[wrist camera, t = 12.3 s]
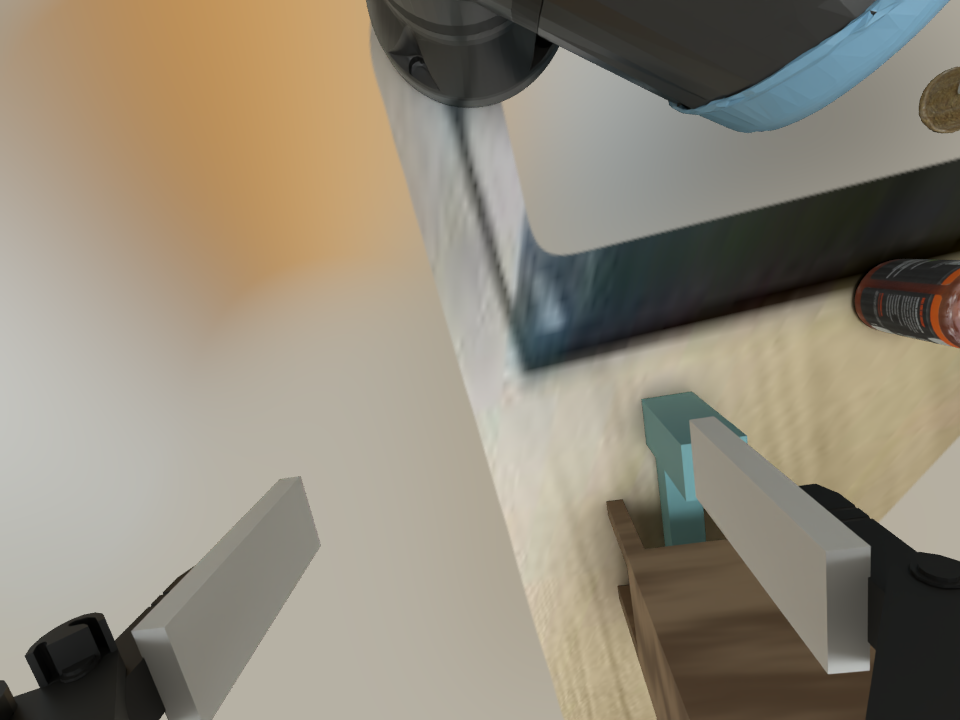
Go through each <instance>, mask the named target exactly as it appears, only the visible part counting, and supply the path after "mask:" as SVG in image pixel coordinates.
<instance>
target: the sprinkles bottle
mask: <svg viewBox="0 0 960 720" xmlns="http://www.w3.org/2000/svg"><path fill="white" fill-rule="evenodd" d="M919 116H920V118H921V121H922V122H923V123H924V124H925V125H926V126H927V127H928V128H929V129H930V130H932V131H934V132H937V133H953V132H955V131H959V130H960V67H955V68H951V69H949V70H946V71H944V72H942V73H941V74H939V75H938V76H936V77H935V78H934V79H933V80H932V81H931V82H930V83H929V84H928V85H927V87H926V88H925V90H924V91H923V93H922V96H921V98H920V103H919Z"/></svg>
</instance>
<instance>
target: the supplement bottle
mask: <svg viewBox="0 0 960 720" xmlns="http://www.w3.org/2000/svg"><path fill="white" fill-rule="evenodd" d="M855 308H856V312H857V314H858V316H859V318H860V319H861V320H862V321H863V322H864V323H865V324H866V325H868V326H869V327H871V328H873V329H876V330H880V331H883V332H887V333H892V334H897V335H901V336H906V337H910V338H915V339H919V340H924V341H929V342H933V343H937V344H942V345H947V346H952V347H956V348H960V260H932V259H929V260H927V259H897V260H891V261H887V262H884V263H882V264H880V265H878V266H876V267H874V268H873V269H872V270H870V271H869V272H868V273H867V274H866V275H865V276H864V278H863V279H862V281H861V282H860V284H859V286H858V288H857V290H856V294H855Z"/></svg>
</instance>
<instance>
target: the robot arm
mask: <svg viewBox="0 0 960 720" xmlns="http://www.w3.org/2000/svg"><path fill="white" fill-rule="evenodd" d="M948 1H950V0H366V2H367V7H368V12H369V16H370V19H371V23H372V26H373V28H374V31H375V34H376V36H377V38H378V40H379V42H380V44H381V46H382V48H383V50H384V51H385V53H386V54H387V56H388V58H389V59H390V61H391V62H392V64H393V65H394V67H395V68H396V69H397V71H398V72H399V73H400V74H401V76H402V77H403V78H404V79H405V80H406V81H407V82H408V83H409V84H410V85H412V86H413V87H414V88H415V89H417V90H418V91H419V92H421V93H422V94H424V95H426V96H427V97H429V98H431V99H433V100H436V101H438V102H441V103H444V104H447V105H451V106H457V107H466V108H472V107H483V106H489V105H493V104H496V103H499V102H502V101H504V100H506V99H508V98H511V97H512V96H514V95H516V94H518V93H519V92H521V91H522V90H524V89H525V88H526V87H528V86H529V85H530V84H531V83H532V82H534V80H536V79H537V77H538V76H539V75H540V74H541V73H542V72H543V71H544V70H545V68H546V67H547V66H548V64H549V63H550V61H551V60H552V58H553V56H554V55H555V53H556V51H557V50H558V48H559V46H560V47H562V48H564V49H566V50H568V51H570V52H572V53H574V54H576V55H578V56H580V57H582V58H584V59H586V60H588V61H590V62H592V63H595V64H596V65H598V66H600V67H602V68H604V69H606V70H608V71H610V72H613V73H614V74H616V75H618V76H620V77H622V78H624V79H626V80H628V81H630V82H632V83H634V84H636V85H638V86H640V87H642V88H644V89H646V90H648V91H650V92H652V93H654V94H656V95H658V96H660V97H662V98H664V99H666V100H668V101H669V105H670V106H671V107H672V108H674V109H675V110H677V111H679V112H681V113H685V114H695V115H700V116H702V117H704V118H707V119H709V120H711V121H713V122H716V123H718V124H720V125H723V126H725V127H727V128H730V129H732V130H735V131H738V132H745V133H751V132H755V131H761V132H762V131H771V130H776V129H779V128H782V127H785V126H788V125H790V124H792V123H795V122H797V121H799V120H801V119H803V118H805V117H807V116H809V115H811V114H813V113H815V112H817V111H818V110H820V109H822V108H823V107H825V106H827V105H828V104H830V103H831V102H833V101H834V100H836V99H837V98H839V97H840V96H842V95H843V94H845V93H846V92H847V91H849V90H850V89H852V88H853V87H854V86H856V85H857V84H858V83H859V82H861V81H862V80H863V79H865V78H866V77H867V76H869V75H870V74H871V73H873V72H874V71H875V70H876V69H878V68H879V67H880V66H881V65H882V64H884V63H885V62H886V61H887V60H888V59H889V58H891V57H892V56H893V55H894V54H895V53H896V52H898V51H899V50H900V49H901V48H902V47H903V46H904V45H906V43H908V42H909V41H910V40H911V39H912V38H913V37H914V36H915V35H916V34H917V33H918V32H919V31H920V30H921V29H923V28H924V27H925V26H926V24H928V23H929V22H930V20H931V19H932V18H933V17H934V16H935V15H936V14H937V13H938V12H939V11H940V10H941V9H942V8H943V7H944V6H945V5H946V4H947V3H948ZM689 423H690V435H691V447H692V458H693V470H694V481H695V493H696V498H697V499H698V501H699V502H700V503H701V505H702V506H703V507H704V509H705V510H706V511H707V513H708V514H709V515H710V517H711V518H712V519H713V521H714V522H715V523H716V525H717V526H718V527H719V529H720V530H721V531H722V533H723V534H724V535H725V537H726V538H727V539H728V541H729V542H730V543H731V545H732V546H733V548H734V549H735V550H736V552H737V553H738V554H739V556H740V557H741V558H742V560H743V561H744V562H745V564H746V565H747V566H748V568H749V569H750V570H751V572H752V573H753V574H754V576H755V577H756V578H757V580H758V581H759V582H760V584H761V585H762V586H763V588H764V589H765V590H766V592H767V593H768V594H769V596H770V597H771V598H772V600H773V601H774V603H775V604H776V605H777V607H778V608H779V609H780V611H781V612H782V613H783V615H784V616H785V617H786V619H787V620H788V621H789V623H790V624H791V625H792V627H793V628H794V629H795V631H796V632H797V633H798V635H799V636H800V637H801V639H802V640H803V641H804V643H805V644H806V645H807V647H808V648H809V649H810V651H811V652H812V653H813V655H814V656H815V657H816V659H817V660H818V662H819V663H820V664H821V666H822V667H823V668H824V670H825V671H826V672H827V674H836V673H847V672H859V671H870V645H871V646H872V647H873V648H874V649H875V650H876V653H875V659H874V666H873V672H872V679H871V685H870V692H869V698H868V705H867V711H866V718H865V720H960V561H957V560H954V559H951V558H947V557H944V556H941V555H936V554H930V553H923V552H916V551H915V550H914V549H912V548H911V547H910V546H908V545H907V544H906V543H904V542H903V541H902V540H900V539H899V538H898V537H896V536H895V535H894V534H892V533H891V532H890V531H888V530H887V529H886V528H884V527H883V526H882V525H880V524H879V523H878V522H876V521H875V520H874V519H870V518H869V516H868V515H867V514H866V513H864V512H863V511H862V510H860V509H859V508H856V507H855V505H854V504H852V503H851V502H850V501H848V500H847V499H846V498H844V497H843V496H842V495H840V494H839V493H837V492H834V491H832V490H830V489H827V488H825V487H822V486H820V485H817V484H810V485H803V486H797V485H796V484H795V483H794V482H793V481H791V480H790V479H789V478H788V477H787V476H785V475H784V474H783V473H782V472H781V471H779V470H778V469H777V468H776V467H774V466H773V465H772V464H771V463H770V462H768V461H767V460H766V459H765V458H764V457H762V456H761V455H760V454H759V453H758V452H756V451H755V450H754V449H753V448H752V447H750V446H749V445H748V444H747V443H746V442H744V441H743V440H742V439H741V438H740V437H738V436H737V435H736V434H735V433H734V432H732V431H731V430H730V429H729V428H728V427H726V426H725V425H724V424H723V423H721V422H720V421H719V420H718V419H717V418H715V417H714V416H712V417H705V418H698V419H691V420H689ZM320 546H321V544H320V540H319V538H318V534H317V530H316V527H315V524H314V520H313V517H312V514H311V510H310V506H309V503H308V500H307V496H306V493H305V490H304V486H303V483H302V479H301V476H298V477H292V478H284V479H280V480H279V481H278V482H277V483H276V484H275V485H274V486H273V487H272V488H271V489H270V490H269V491H268V492H267V493H266V494H265V495H264V496H263V497H262V498H261V499H260V500H259V501H258V502H257V503H256V504H255V505H254V506H253V507H252V508H251V509H250V510H249V511H248V512H247V513H246V514H245V515H244V516H243V517H242V518H241V519H240V520H239V521H238V522H237V523H236V525H235V526H234V527H233V528H232V529H231V530H230V531H229V532H228V533H227V534H226V535H225V536H224V537H223V538H222V539H221V540H220V541H219V542H218V543H217V544H216V545H215V546H214V547H213V548H212V549H211V550H210V551H209V552H208V553H207V554H206V555H205V556H204V557H203V558H202V559H201V560H200V561H199V562H198V563H197V564H196V565H195V566H194V567H192V568H191V569H190V570H188V571H187V572H185V573H184V574H182V575H181V576H179V577H178V578H177V579H176V580H175V581H174V582H173V583H172V584H171V585H170V586H169V587H168V588H167V589H166V590H165V591H164V592H163V595H160V596H159V597H158V598H157V599H156V600H155V601H154V602H153V603H152V604H151V607H148V608H147V609H146V610H145V611H144V612H143V613H142V614H141V615H140V616H139V617H138V618H137V619H136V620H135V621H134V622H133V623H132V624H131V625H130V626H129V627H128V628H127V629H126V630H125V631H124V632H123V633H122V634H121V635H120V636H119V637H118V638H117V639H116V640H115V641H114V638H113V636H112V634H111V631H110V629H109V627H108V624H107V622H106V620H105V617H104V615H103V614H102V613H90V614H86V615H82V616H79V617H77V618H74V619H72V620H70V621H67V622H65V623H64V624H62V625H60V626H58V627H56V628H54V629H53V630H51V631H50V632H48V633H47V634H46V635H44V636H43V637H41V638H40V639H39V640H38V641H37V642H36V643H35V644H34V645H32V646H31V647H30V649H29V650H28V652H27V653H26V655H25V658H26V660H27V662H28V664H29V665H30V668H31V670H32V672H33V674H34V676H35V678H36V680H37V682H38V684H39V686H40V688H39V689H36V690H33V691H30V692H27V693H24V694H21V695H18V696H15V697H13V695H12V694H11V691H10V690H9V687H8V685H7V684H6V683H5V681H3V680H0V720H159V719H160V718H161V716H162V715H163V714H164V712H165V714H166V716H167V718H168V720H212V719H213V717H214V716H215V714H216V712H217V711H218V709H219V708H220V706H221V704H222V703H223V701H224V700H225V698H226V696H227V695H228V693H229V691H230V690H231V688H232V686H233V685H234V683H235V682H236V680H237V678H238V677H239V676H240V674H241V672H242V671H243V669H244V667H245V666H246V664H247V663H248V661H249V660H250V658H251V656H252V655H253V653H254V652H255V650H256V648H257V647H258V645H259V644H260V642H261V640H262V639H263V637H264V635H265V634H266V632H267V631H268V629H269V628H270V626H271V624H272V623H273V621H274V620H275V618H276V616H277V615H278V613H279V611H280V610H281V608H282V607H283V605H284V603H285V602H286V600H287V599H288V597H289V596H290V594H291V592H292V591H293V589H294V588H295V586H296V584H297V583H298V581H299V580H300V578H301V576H302V575H303V573H304V572H305V570H306V568H307V567H308V565H309V564H310V562H311V560H312V559H313V557H314V556H315V554H316V552H317V551H318V549H319V547H320Z"/></svg>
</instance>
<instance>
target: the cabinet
mask: <svg viewBox="0 0 960 720" xmlns="http://www.w3.org/2000/svg"><path fill="white" fill-rule="evenodd" d="M606 503H607V510H608V516H609V519H610V522H611V524H612V527H613V530H614V532H615V535H616V538H617V541H618V543H619V546H620V549H621V551H622V554H623V557H624V559H625V562H626V565H627V568H628V576H629V584H630V585H625V586H618V592H619V599H620V602H621V605H622V609H623V612H624V615H625V618H626V621H627V625H628V628H629V631H630V634H631V637H632V640H633V644H634V647H635V650H636V653H637V656H638V660H639V663H640V666H641V669H642V672H643V675H644V679H645V682H646V685H647V688H648V691H649V695H650V698H651V701H652V704H653V707H654V710H655V714H656V717H657V720H865V718H866V711H867V705H868V698H869V692H870V685H871V679H872V672H873V666H874V659H875V653H876V650H875V649H874V648H873V647H872V646H871V645H870V671H859V672H847V673H836V674H827V672H826V671H825V670H824V668H823V667H822V666H821V664H820V663H819V662H818V660H817V659H816V657H815V656H814V655H813V653H812V652H811V651H810V649H809V648H808V647H807V645H806V644H805V643H804V641H803V640H802V639H801V637H800V636H799V635H798V633H797V632H796V631H795V629H794V628H793V627H792V625H791V624H790V623H789V621H788V620H787V619H786V617H785V616H784V615H783V613H782V612H781V611H780V609H779V608H778V607H777V605H776V604H775V603H774V601H773V600H772V598H771V597H770V596H769V594H768V593H767V592H766V590H765V589H764V588H763V586H762V585H761V584H760V582H759V581H758V580H757V578H756V577H755V576H754V574H753V573H752V572H751V570H750V569H749V568H748V566H747V565H746V564H745V562H744V561H743V560H742V558H741V557H740V556H739V554H738V553H737V552H736V550H735V549H734V548H733V546H732V545H731V543H730V542H729V541H728V539H724V540H716V541H707V542H699V543H690V544H682V545H674V546H665V547H657V548H649V549H644V547H643V545H642V542H641V540H640V538H639V536H638V533H637V531H636V529H635V527H634V525H633V522H632V520H631V518H630V516H629V513H628V511H627V509H626V507H625V504H624V502H623V500H615V501H607V502H606Z"/></svg>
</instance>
